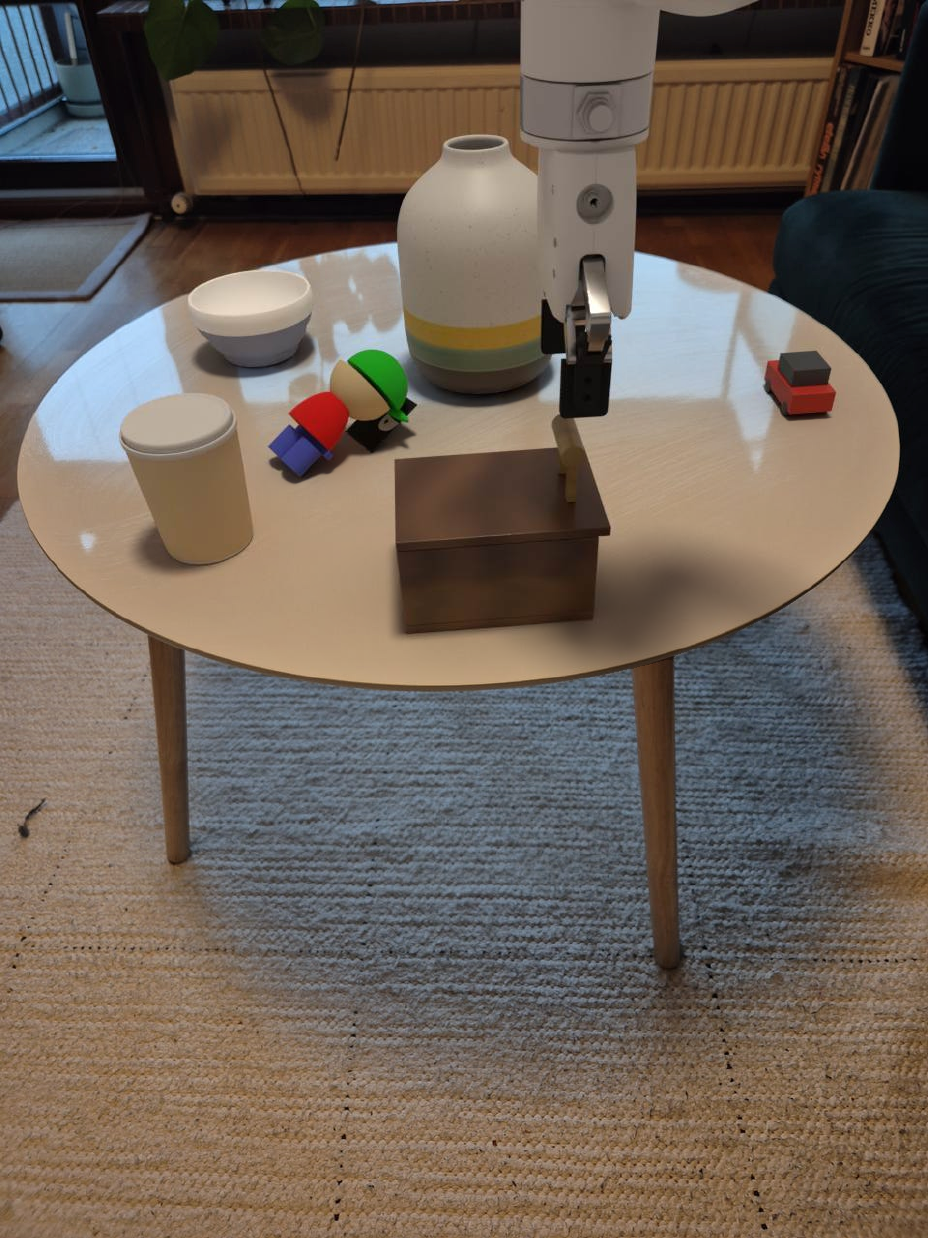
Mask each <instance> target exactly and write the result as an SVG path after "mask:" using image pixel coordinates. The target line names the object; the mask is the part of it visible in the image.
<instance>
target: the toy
mask: <svg viewBox="0 0 928 1238" xmlns="http://www.w3.org/2000/svg"><path fill="white" fill-rule="evenodd" d="M408 390H409V384H408V377H407V374H406V371H405V369H404V367H403V365H402V364H401V363H400V362H399V361H398V360H397V359H396V358H395V357H394V356H393V355H391V354H390V353H388V352H386V351H382V350H379V349H364V350H361V351H359V352H355V353H354V354H353V355H351V356H350V357H349V358H348V359H347V360H346V361H345V360H343V359H341V358H340V359H339V360H338V361H337V362H336V364H335V365H334V367H333V369H332V371H331V374H330V377H329V391H321V392H318V393H315V394H312V395H311V396H309V397H307V398H306V399H303V400H302V401H301V402H300V403H298V404H297V405H295V406H294V408H292V409H291V410H290V411H289V412H288V413H287V414H288V415H289V416H290V417H291V419H293V421H294V422H295V423H297V424H298V425H297V426H296V427H293V426H292V425H291V424H290V423H289V424H288V425H287V426H286V427H285V428H284V429H283V430H282V431H281V432H280V433H279V434H278V435H277V436H276V437H275V438H274V439H273V440H272V442H271V443H269V445H267V448H269V450H270V451H272V452H273V453H274V454H275V455H276V456H277V457H278V458H279V459H280V460H281V461H282V462H283V463H284V464H285V465H287V467H288V468H289V469H290V470H292V471H293V472H294V473H295V474H296V475H297V476H298V477H299V478H301V477H302V476H303V475H304V474H305V473H306V472H307V471H308V470H309V468H311V467H312V466H313V464H315V462H316V461H317V460H318V459H319V458H320V457H321V456H323V457H324V458H325V459H326V460H327V461H330V460H332V458H333V457H334V454H333V453H332V452H331V451H332V450H333V448H335V446H336V445H337V444H338V442H339V441H340V439H341V438H342V436H343V434H344V432H345V433H346V434H347V435H349V437H350V438H352V439H353V440H354V441H356V442H357V443H358V444H359V445H361V446H362V448H364V449H366V450H367V451H368V452H369V453H371V454H373V452H374V451H375V450H376V449H377V448H378V447H379V446H380V445H381V444H383V442H384V441H385V440H386V439H387V437H389V435H391V434H392V433H393V432H394V430H395V429H397V427H398V426H399V425H400V424H401V423H402V422H403V423H409V422H410V420H409V418H408V416H409V414H410V413H412V412H413V410H414V409H416V407H417V406H418V404H417V403H415V402H414V401H413V400H411V399H410V398H408V397H407V395H408ZM349 418H350V419H353V420H355V421H354V422H353V423H352V424H351V425H349V427H348V428H347V429H346V427H347V425H348V421H349Z"/></svg>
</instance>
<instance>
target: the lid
mask: <svg viewBox="0 0 928 1238" xmlns="http://www.w3.org/2000/svg"><path fill="white" fill-rule="evenodd" d="M575 419H576V418H569V419H564V418H562V417H561V416H560V413H559V414H557V415H556V416H554V417H553V419H552V420H551V424H550V425H551V430H552V434H553V436H554V440H555V444H556V447H544V448H532V449H518V450H517V449H516V450H515V449H514V450H501V451H487V452H486V451H485V452H474V453H472V452H471V453H461V454H446V455H434V456H419V457H418V456H417V457H407V458H405V457H403V458H395V459H394V463H393V464H394V525H395V526H394V528H395V529H394V531H395V533H394V534H395V551H396V553H397V552H399V551H412V550H426V549H439V548H452V547H466V546H479V545H492V544H506V543H519V542H533V541H546V540H559V539H573V538H586V537H599V538H600V537H610V536H611V532H612V530H611V529H612V527H611V526H612V525H611V523H610V521H609V518H608V514H607V512H606V511H607V510H606V509H605V505H604V502H603V500H602V496H601V493H600V490H599V487H598V485H597V482H596V481H597V480H596V479H595V476H594V472H593V469H592V466H591V463H590V460H589V458H588V454H587V451H586V448H585V445H584V443H583V440H582V438H581V434H580V432H579V429H578V426H577V425H578V424H577V423H576V420H575Z"/></svg>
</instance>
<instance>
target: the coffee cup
mask: <svg viewBox="0 0 928 1238" xmlns="http://www.w3.org/2000/svg"><path fill="white" fill-rule="evenodd" d="M118 440H119V441H118V442H119V444H120V446H121V448H122V449H123V451H125V454H126V456H127V458H128V461H129V463H130V466H131V469H132V471H133V475H134V477H135V479H136V481H137V483H138V486H139V488H140V490H141V491H140V492H141V493H142V496H143V498H144V500H145V503H146V505H147V507H148V510H149V512H150V514H151V517H152V519H153V522H154V524H155V526H156V529H157V532H158V533H159V535H160V538H161V540H162V542H163V544H164V547H165V548H166V551H167V552H168V554H169V555H170V557H172V558H173V559H175V560H176V561H178V562H181V563H184V564H189V565H209V564H215V563H219V562H222V561H225V560H228V559H230V558H233V557H234V556H236V555H238V554H239V553H240V552H242V551H243V550H244V549H246V547H248V545H249V544H250V543H251V541H252V539H253V536H254V527H253V518H252V513H251V505H250V499H249V492H248V485H247V479H246V473H245V468H244V462H243V457H242V456H243V455H242V451H241V443H240V438H239V432H238V418H237V415H236V413H235V410H233V409H232V408H231V406H230V405H229V403H228V402H226V401H225V400H224V399H223V398H221V397H218V396H216V395H212V394H209V393H201V392H200V393H199V392H184V393H183V392H182V393H176V394H170V395H165V396H162V397H157V398H154V399H153V400H149V401H147V402H144V403H142V404H140V405H138V406H137V407H135V408H134V409H132V410H131V411H130V412H128V413H127V414H126V415H125V416H124V418H123V419H122V421H121V423H120V426H119V433H118Z"/></svg>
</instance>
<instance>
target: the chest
mask: <svg viewBox="0 0 928 1238" xmlns="http://www.w3.org/2000/svg"><path fill="white" fill-rule="evenodd" d="M599 544H600V536H599V537H586V538H573V539H559V540H546V541H533V542H519V543H506V544H492V545H479V546H466V547H452V548H439V549H426V550H412V551H399V552H397V551H396V560H397V568H398V576H399V585H400V595H401V602H402V611H403V619H404V628H405V634H415V633H428V632H441V631H455V630H467V629H469V630H470V629H481V628H482V629H483V628H494V627H506V626H507V627H508V626H518V625H519V626H521V625H532V624H533V625H534V624H545V623H557V622H558V623H559V622H570V621H571V622H572V621H582V620H583V621H584V620H585V621H586V620H593V619H594V615H595V602H596V590H597V589H596V586H597V574H598V561H599V546H600V545H599Z"/></svg>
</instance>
